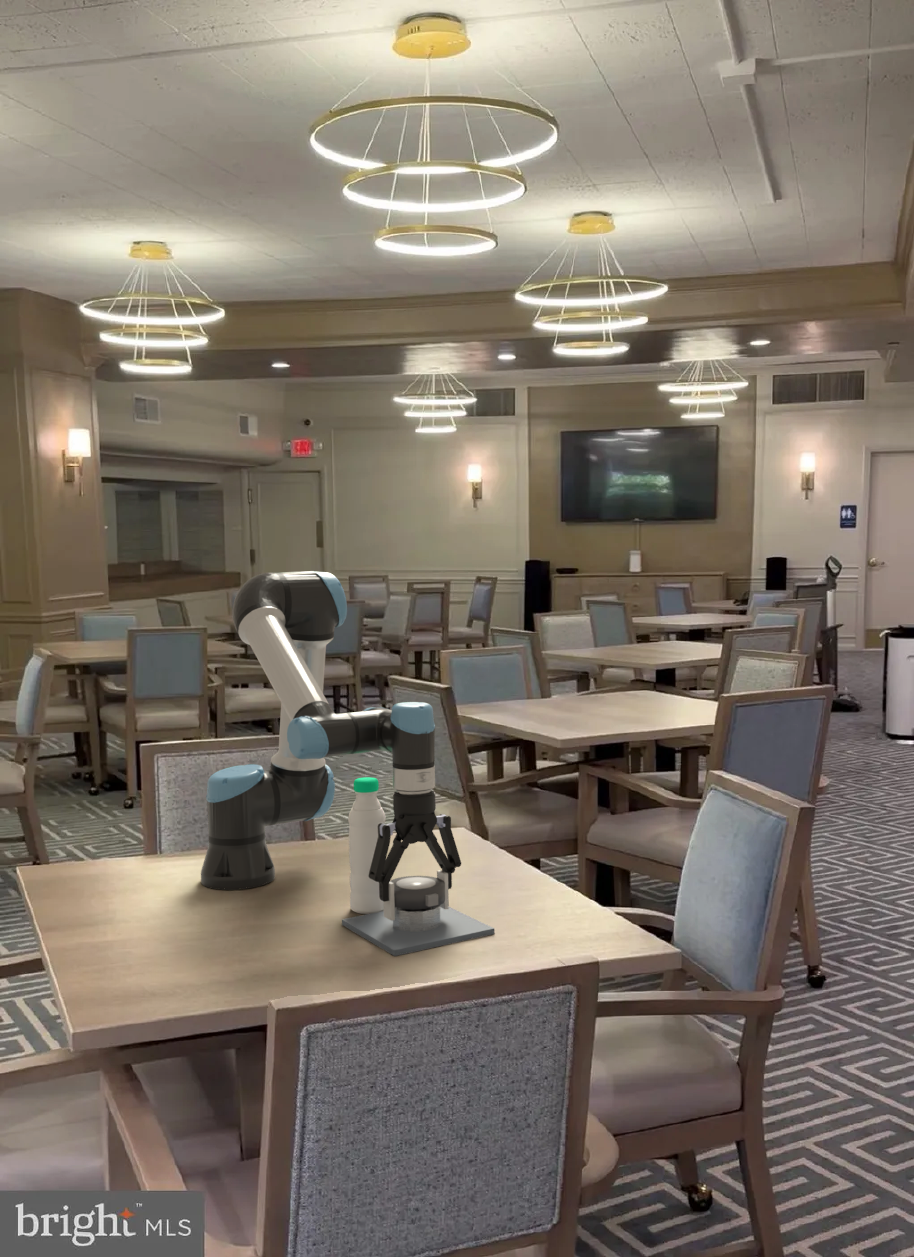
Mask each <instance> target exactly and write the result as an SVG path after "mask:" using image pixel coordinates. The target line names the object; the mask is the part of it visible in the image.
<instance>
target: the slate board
mask: <svg viewBox="0 0 914 1257" xmlns="http://www.w3.org/2000/svg"><path fill="white" fill-rule="evenodd" d="M341 926H343V927H345V928H347V929H348V930H350V931H352V932H353V933H355V934H357V935H358V936H360V937H362V938H363V939H365V941H368V942H370V943H372V944H373V945H375V946H377V947H378V948H380V949H381V950H383V949H384V950H383V951H385V952H387V953H389V954H390V955H391V956H393V957H397V956H402V955H406V954H411V953H415V952H420V951H424V950H428V949H432V948H433V949H434V948H437V947H442V946H447V945H450V944H451V945H452V944H455V943H460V942H465V941H468V940H474V939H478V938H483V937H486V936H491V935H495V927H493V926H491V925H488V924H486V923H484V922H482V921H480V920H478V919H476V918H474V917H471V915H467V913H463V912H461V911H459V910H457V909H455V908H454V907H451V906H449V909H443V908H441V907H440V926H438V927H437V928H435V929H431V930H427V931H413V932H410V931H404V930H399V929H397V928H395V927H393V920H392V921H391V920H389V919H387V918H385V917H384V910H383V911H381V912H376V913H371V914H362V915H357V916H352V917H347V918H343V919H341Z"/></svg>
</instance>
